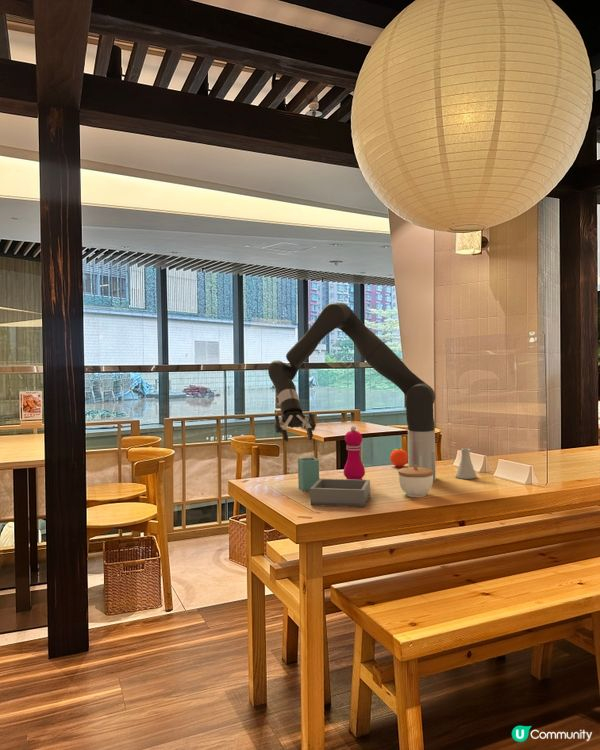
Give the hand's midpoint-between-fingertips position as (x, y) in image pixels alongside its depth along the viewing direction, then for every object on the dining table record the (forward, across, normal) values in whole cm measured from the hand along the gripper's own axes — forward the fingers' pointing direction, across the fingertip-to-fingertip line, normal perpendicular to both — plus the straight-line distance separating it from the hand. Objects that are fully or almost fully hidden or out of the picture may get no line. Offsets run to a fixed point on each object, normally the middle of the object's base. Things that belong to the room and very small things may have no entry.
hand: (298, 439), depth 208 cm
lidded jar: (+33, +29, -11) cm, 45 cm away
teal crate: (+19, 0, +2) cm, 19 cm away
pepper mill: (+19, +16, +3) cm, 25 cm away
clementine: (+2, +43, +20) cm, 47 cm away
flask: (+21, +57, +1) cm, 60 cm away
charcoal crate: (+31, +5, -10) cm, 33 cm away
